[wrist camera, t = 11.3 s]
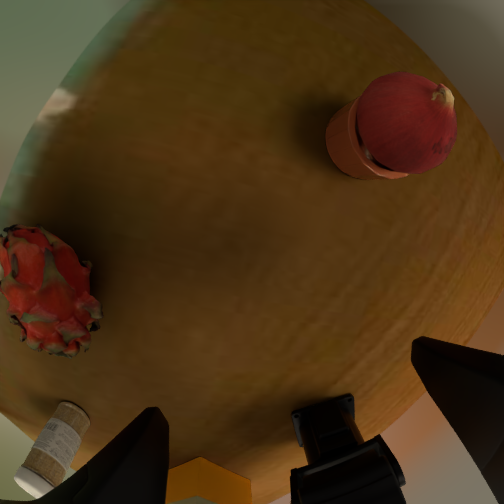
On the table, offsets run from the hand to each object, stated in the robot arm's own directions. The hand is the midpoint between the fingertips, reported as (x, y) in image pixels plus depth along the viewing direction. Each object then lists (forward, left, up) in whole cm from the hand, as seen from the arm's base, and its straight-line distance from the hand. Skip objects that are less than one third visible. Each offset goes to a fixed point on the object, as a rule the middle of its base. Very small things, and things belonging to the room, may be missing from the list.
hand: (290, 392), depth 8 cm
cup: (+8, -10, -13) cm, 18 cm away
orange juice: (-26, +13, -13) cm, 32 cm away
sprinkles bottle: (-12, +25, -13) cm, 31 cm away
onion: (+8, -10, -10) cm, 16 cm away
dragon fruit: (+4, +16, -13) cm, 21 cm away
